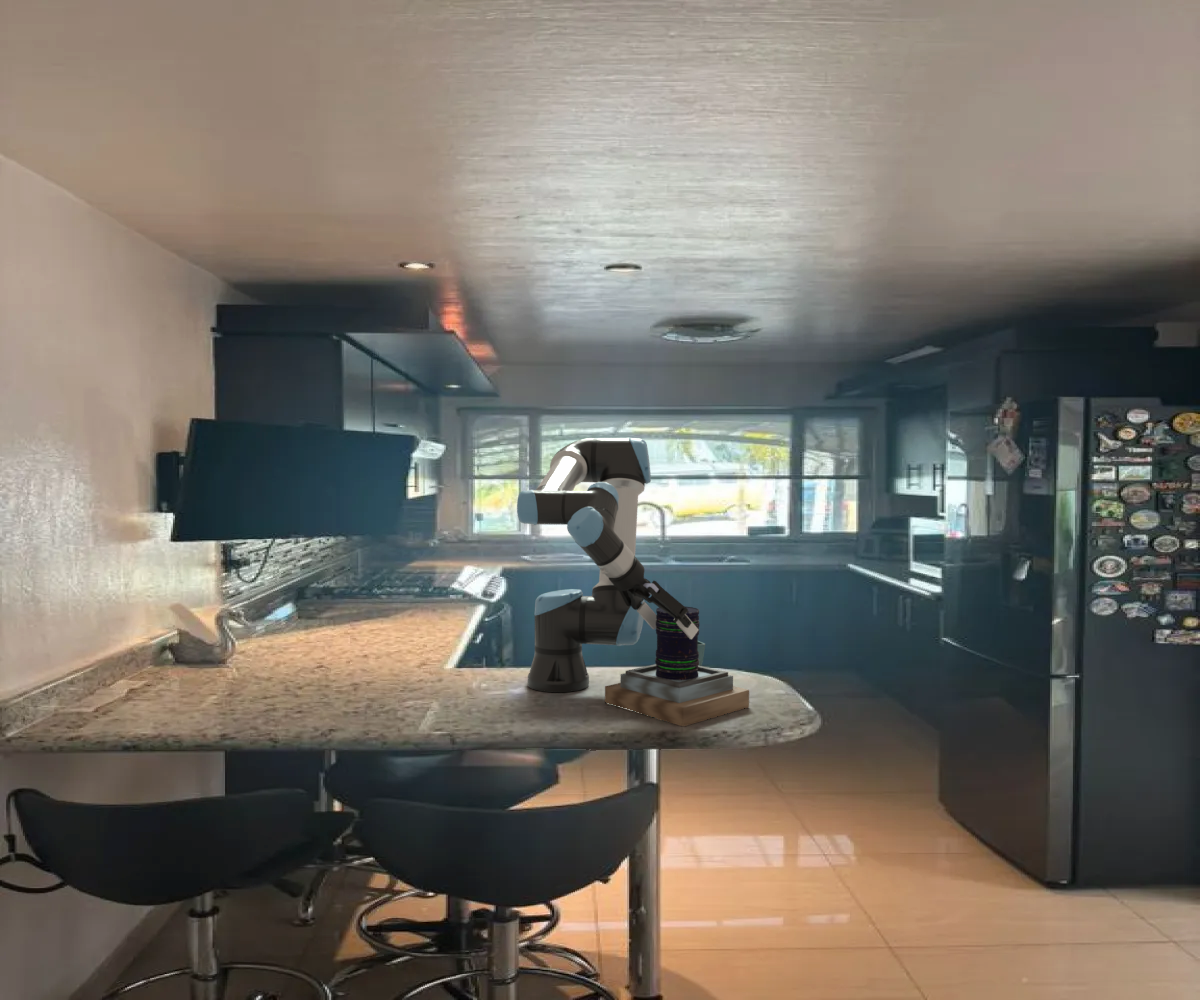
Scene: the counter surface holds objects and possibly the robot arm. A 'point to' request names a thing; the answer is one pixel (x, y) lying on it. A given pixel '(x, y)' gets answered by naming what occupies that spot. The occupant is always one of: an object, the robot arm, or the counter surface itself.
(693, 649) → the dark blue cylinder
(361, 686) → the counter surface
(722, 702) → the tower base
